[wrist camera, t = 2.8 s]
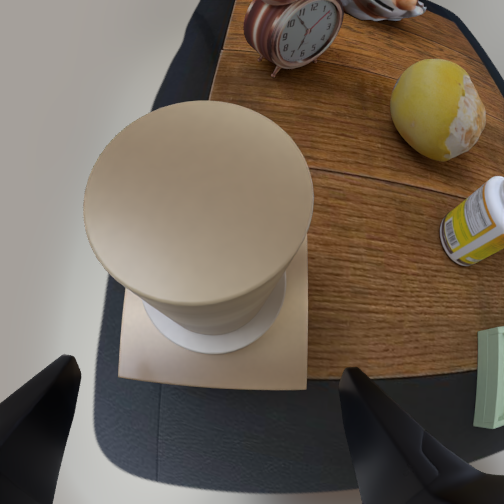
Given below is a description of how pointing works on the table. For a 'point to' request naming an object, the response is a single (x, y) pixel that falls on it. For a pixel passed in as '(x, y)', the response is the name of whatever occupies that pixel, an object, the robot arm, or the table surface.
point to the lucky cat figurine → (383, 9)
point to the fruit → (437, 109)
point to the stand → (230, 364)
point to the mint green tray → (490, 379)
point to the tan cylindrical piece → (201, 220)
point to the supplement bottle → (476, 225)
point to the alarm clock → (292, 30)
